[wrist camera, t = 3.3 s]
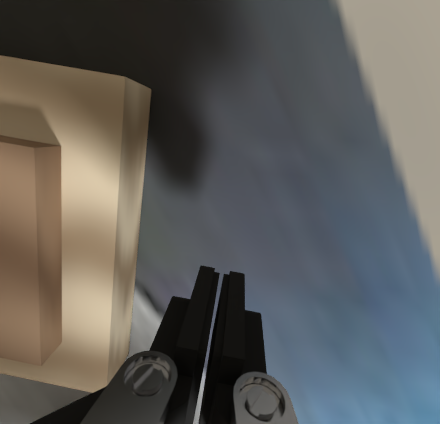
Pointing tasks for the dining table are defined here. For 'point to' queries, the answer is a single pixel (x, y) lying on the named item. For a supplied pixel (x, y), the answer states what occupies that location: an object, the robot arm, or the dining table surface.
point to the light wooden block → (85, 206)
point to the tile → (30, 250)
